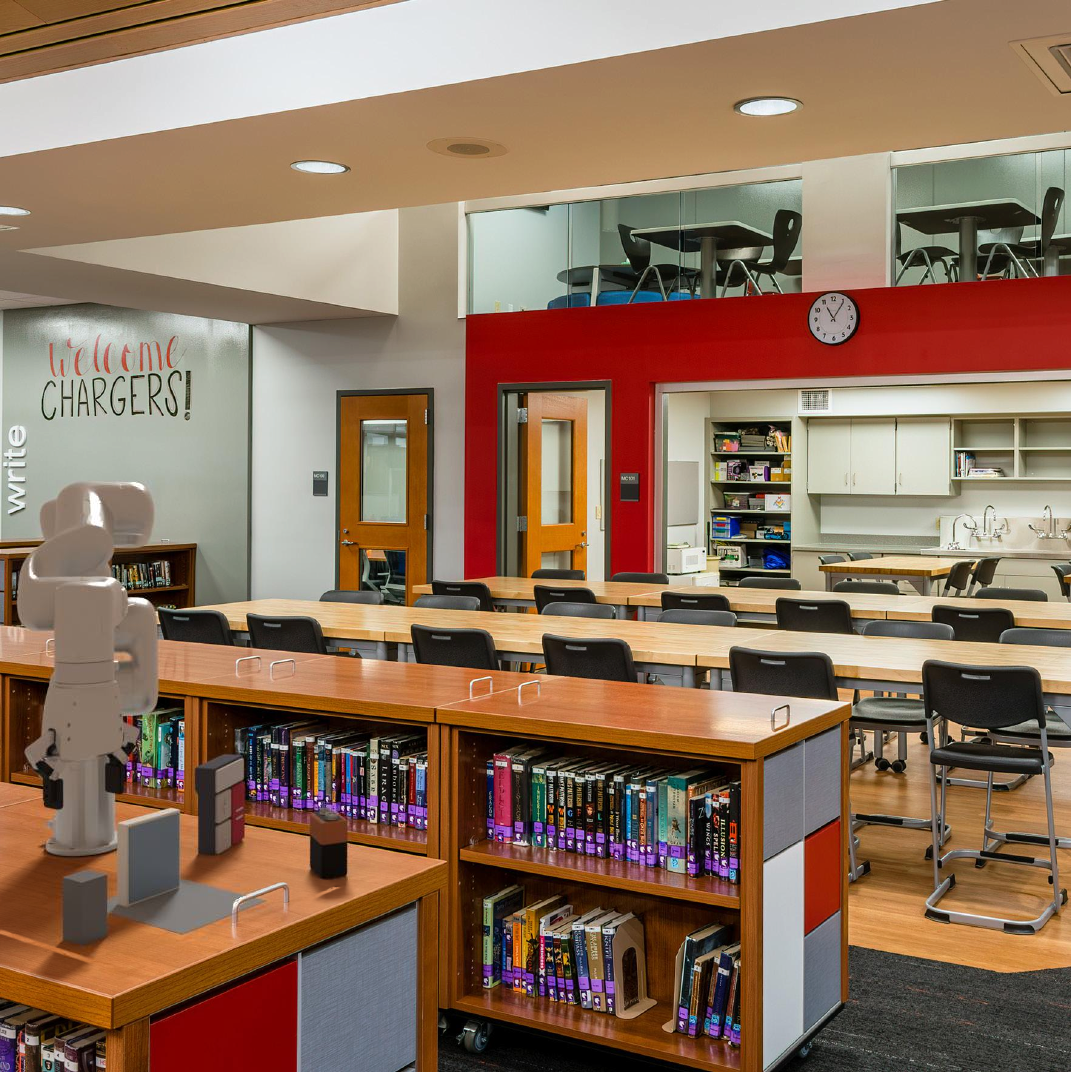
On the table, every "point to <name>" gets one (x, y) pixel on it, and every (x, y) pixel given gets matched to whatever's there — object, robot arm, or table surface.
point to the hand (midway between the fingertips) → (84, 800)
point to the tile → (148, 856)
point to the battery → (328, 844)
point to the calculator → (220, 803)
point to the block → (84, 907)
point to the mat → (182, 907)
